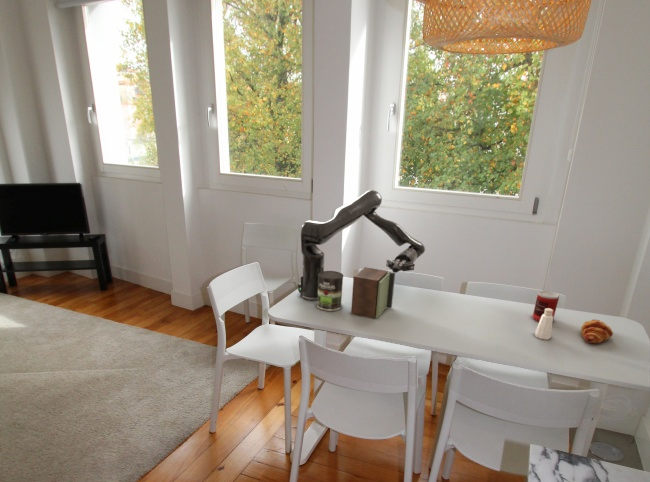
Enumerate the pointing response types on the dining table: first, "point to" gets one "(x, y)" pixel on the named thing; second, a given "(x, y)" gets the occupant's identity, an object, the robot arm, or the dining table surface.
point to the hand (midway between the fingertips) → (394, 270)
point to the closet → (366, 291)
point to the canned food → (545, 303)
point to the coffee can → (329, 290)
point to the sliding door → (385, 293)
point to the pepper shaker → (545, 325)
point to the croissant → (596, 331)
